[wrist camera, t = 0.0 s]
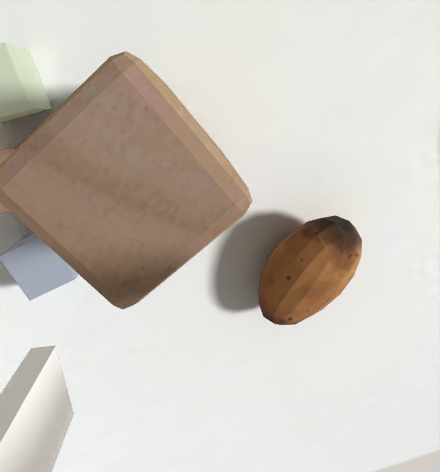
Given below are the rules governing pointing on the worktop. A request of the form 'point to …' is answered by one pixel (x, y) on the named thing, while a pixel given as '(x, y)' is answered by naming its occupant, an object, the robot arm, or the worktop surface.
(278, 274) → the potato
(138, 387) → the worktop surface
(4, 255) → the slate cube
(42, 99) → the sage cube
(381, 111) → the worktop surface
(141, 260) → the wooden block
